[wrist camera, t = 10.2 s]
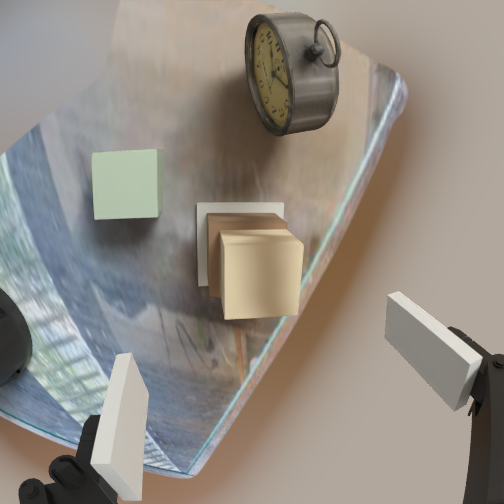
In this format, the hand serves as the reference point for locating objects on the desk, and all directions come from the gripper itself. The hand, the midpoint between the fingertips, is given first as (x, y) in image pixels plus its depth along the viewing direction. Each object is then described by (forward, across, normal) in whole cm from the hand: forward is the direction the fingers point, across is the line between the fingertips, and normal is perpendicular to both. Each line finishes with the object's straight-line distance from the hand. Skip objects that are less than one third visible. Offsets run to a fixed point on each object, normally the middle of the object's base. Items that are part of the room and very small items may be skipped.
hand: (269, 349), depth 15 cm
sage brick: (+21, -8, +8) cm, 24 cm away
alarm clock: (+21, +7, +15) cm, 27 cm away
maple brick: (+15, +2, -1) cm, 15 cm away
